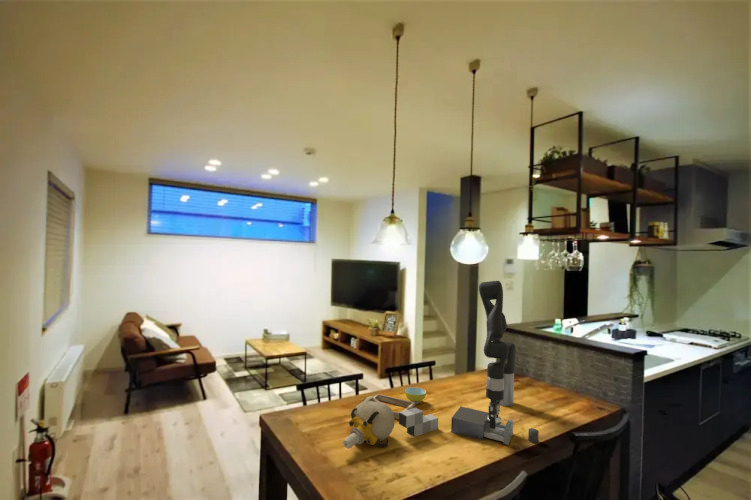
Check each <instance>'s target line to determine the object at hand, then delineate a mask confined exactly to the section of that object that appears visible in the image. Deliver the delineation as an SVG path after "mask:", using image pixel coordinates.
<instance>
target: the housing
mask: <svg viewBox="0 0 751 500" xmlns="http://www.w3.org/2000/svg"><path fill="white" fill-rule="evenodd" d="M487 416H489V411H483V410H479V409H474V408H469V407H464V406H460V407H459V408H458V409H457V411H456V412H455V413H453V415H452V416H451V425H450V426H451V428H450V429H451V431H450V432H451V433H453V434H457V435H461V436H465V437H467V438H471V439H475V440H479V441H484V439H485V438H486V437H483V434H484V425H485V423H486V421H487Z"/></svg>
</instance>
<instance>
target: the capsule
mask: <svg viewBox="0 0 751 500" xmlns="http://www.w3.org/2000/svg"><path fill="white" fill-rule="evenodd" d="M527 433H528V437H527V438H528V439H527V441H528V442H529V443H531V442H532V444H538V443H539V436H540V435H539V433H540V432H539V430H538V429H535V428H528V432H527Z"/></svg>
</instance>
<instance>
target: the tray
mask: <svg viewBox="0 0 751 500" xmlns="http://www.w3.org/2000/svg"><path fill="white" fill-rule="evenodd" d="M513 434H514V420H513V419H510V418H509V419H508V420H507V421H506V424H502V423H501V424H499V425H495V429H492V428H490V423H489V422H488V421H486V423H485V425H484V434H483V437H485V438H488V439H490V440H491V439H492V440H496V441H499V442H503V445H508V446H509V445H510V442H511V439H512V437H513Z"/></svg>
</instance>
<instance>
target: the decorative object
mask: <svg viewBox="0 0 751 500" xmlns="http://www.w3.org/2000/svg"><path fill="white" fill-rule="evenodd" d="M374 396H375V395H371V396H370V395H369V396H367V397H363V398H362V400H361V403H359V404H357V405H356V406H355V408H353V409H352V410H351V412H350V418H351V420H350V421H349V422H348V425H349V426H350V427H353V428H352V429H351V430H350V434H349V435H348V436H347V437H346V438H345V439H344V440H343V442H342V444H343V447H344V448H346V449H351V448H353V446H355V445H362V444H363V443H364V442H365V441H366V443H367V444H368V445H371V446H376V447H378V448H387V446H389V439H388V437H389V436H390V435H391V433H392V432H393V429H394V427H395V420H396V419H395V418H394V413H393V411H394V410H392V408H391V407H390V406H389V405H387V403H385V402H383V401H379V400H377V399H375V398H374ZM374 400H375V401H374ZM384 440H386V442H382V441H384Z"/></svg>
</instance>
